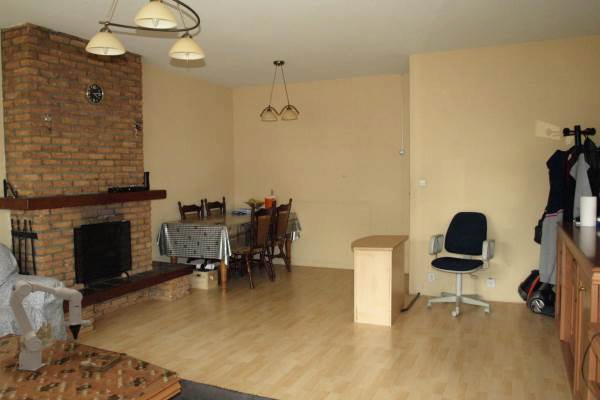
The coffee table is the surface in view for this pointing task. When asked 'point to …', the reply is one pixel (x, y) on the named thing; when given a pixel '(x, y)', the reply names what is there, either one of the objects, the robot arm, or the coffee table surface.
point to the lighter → (87, 363)
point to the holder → (104, 368)
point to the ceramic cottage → (42, 336)
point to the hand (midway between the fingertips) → (75, 338)
